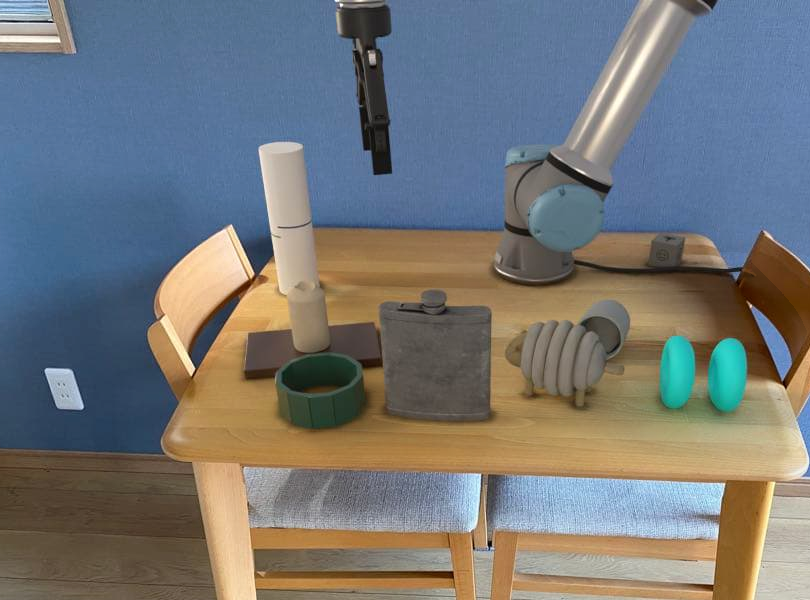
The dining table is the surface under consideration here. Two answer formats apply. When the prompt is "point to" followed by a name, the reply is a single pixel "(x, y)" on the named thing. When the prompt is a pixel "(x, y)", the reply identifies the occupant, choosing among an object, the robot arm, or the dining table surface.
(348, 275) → the dining table surface
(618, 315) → the ceramic mug
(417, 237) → the dining table surface
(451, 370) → the flask
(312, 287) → the candle
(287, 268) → the cylindrical container
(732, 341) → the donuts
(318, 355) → the segmented bracelet
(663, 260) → the grey engraved cube
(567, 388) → the toy sheep
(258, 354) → the walnut board
